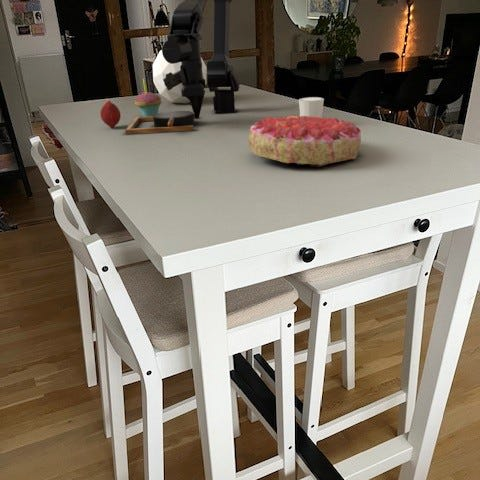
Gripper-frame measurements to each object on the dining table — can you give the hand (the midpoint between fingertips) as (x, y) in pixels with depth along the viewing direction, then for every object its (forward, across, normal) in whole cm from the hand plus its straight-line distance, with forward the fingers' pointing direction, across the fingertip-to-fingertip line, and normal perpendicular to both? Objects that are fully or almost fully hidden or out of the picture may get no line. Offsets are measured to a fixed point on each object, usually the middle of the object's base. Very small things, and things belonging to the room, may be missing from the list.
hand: (197, 117), depth 154 cm
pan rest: (+1, 0, -11) cm, 11 cm away
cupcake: (+2, -18, -17) cm, 25 cm away
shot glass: (+2, +12, +32) cm, 34 cm away
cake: (+2, +44, +26) cm, 51 cm away
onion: (+1, -1, -26) cm, 26 cm away
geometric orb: (+2, -42, -7) cm, 43 cm away
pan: (+2, +4, -7) cm, 8 cm away
